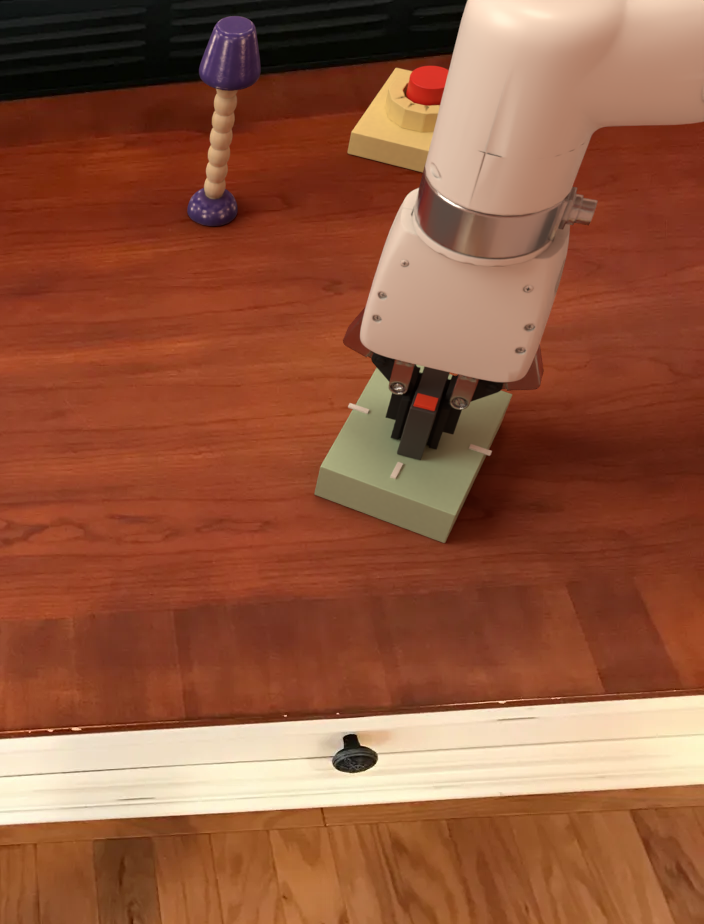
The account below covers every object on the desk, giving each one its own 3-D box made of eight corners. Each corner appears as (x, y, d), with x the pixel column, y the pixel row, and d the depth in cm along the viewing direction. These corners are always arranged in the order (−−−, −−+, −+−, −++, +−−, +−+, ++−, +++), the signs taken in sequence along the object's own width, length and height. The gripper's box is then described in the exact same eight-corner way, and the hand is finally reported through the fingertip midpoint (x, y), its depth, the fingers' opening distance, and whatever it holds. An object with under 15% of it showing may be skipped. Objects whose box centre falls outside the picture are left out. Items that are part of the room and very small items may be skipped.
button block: (391, 89, 106) (399, 48, 103) (489, 111, 103) (501, 70, 100) (347, 153, 101) (354, 113, 98) (448, 179, 97) (460, 138, 94)
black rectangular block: (415, 398, 79) (430, 348, 75) (439, 404, 78) (455, 354, 75) (396, 454, 76) (410, 405, 72) (420, 461, 76) (436, 411, 72)
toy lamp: (225, 188, 100) (242, 1, 86) (255, 216, 97) (278, 28, 84) (177, 206, 99) (187, 21, 85) (207, 236, 96) (222, 49, 83)
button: (414, 80, 100) (418, 61, 99) (455, 89, 99) (460, 70, 98) (399, 101, 99) (404, 83, 97) (441, 111, 97) (446, 92, 96)
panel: (372, 381, 84) (380, 349, 82) (506, 425, 81) (518, 393, 78) (309, 492, 79) (315, 462, 76) (450, 545, 75) (461, 516, 72)
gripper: (653, 189, 62) (550, 420, 77) (361, 138, 67) (317, 364, 82) (636, 275, 58) (531, 502, 73) (327, 214, 63) (287, 438, 78)
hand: (418, 428), depth 77 cm, fingers closed on black rectangular block
